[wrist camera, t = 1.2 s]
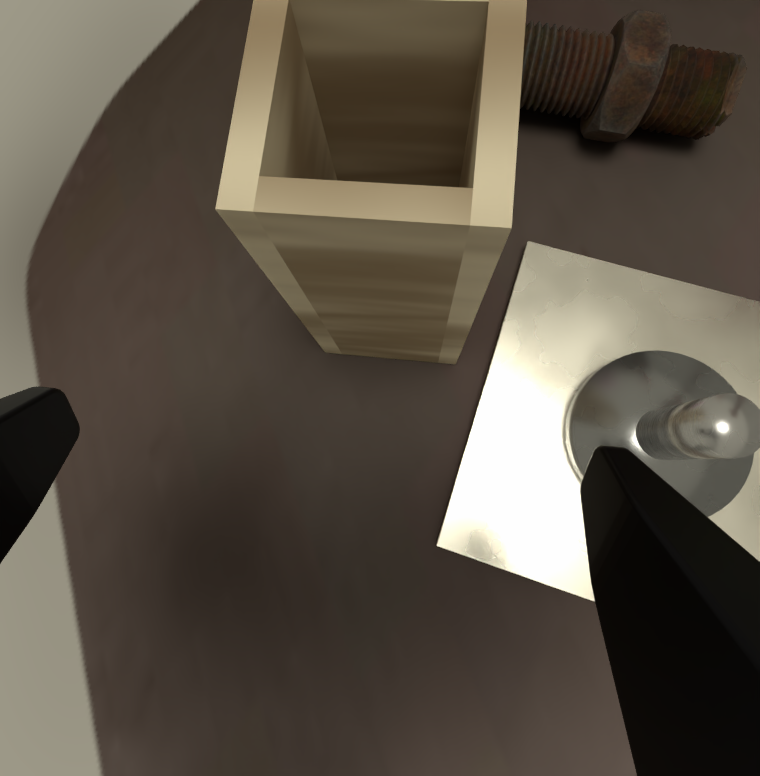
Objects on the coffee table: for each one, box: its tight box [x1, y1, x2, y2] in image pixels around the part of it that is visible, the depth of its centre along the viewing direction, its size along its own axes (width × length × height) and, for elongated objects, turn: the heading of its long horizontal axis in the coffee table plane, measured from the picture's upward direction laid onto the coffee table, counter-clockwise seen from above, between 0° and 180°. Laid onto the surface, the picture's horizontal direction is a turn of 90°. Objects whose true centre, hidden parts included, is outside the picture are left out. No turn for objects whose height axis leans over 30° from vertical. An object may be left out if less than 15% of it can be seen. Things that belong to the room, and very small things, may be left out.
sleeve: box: [216, 0, 527, 364], centre depth 16 cm, size 6×6×12 cm
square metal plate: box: [436, 241, 760, 601], centre depth 17 cm, size 14×14×6 cm
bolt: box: [520, 10, 747, 143], centre depth 21 cm, size 6×5×15 cm
